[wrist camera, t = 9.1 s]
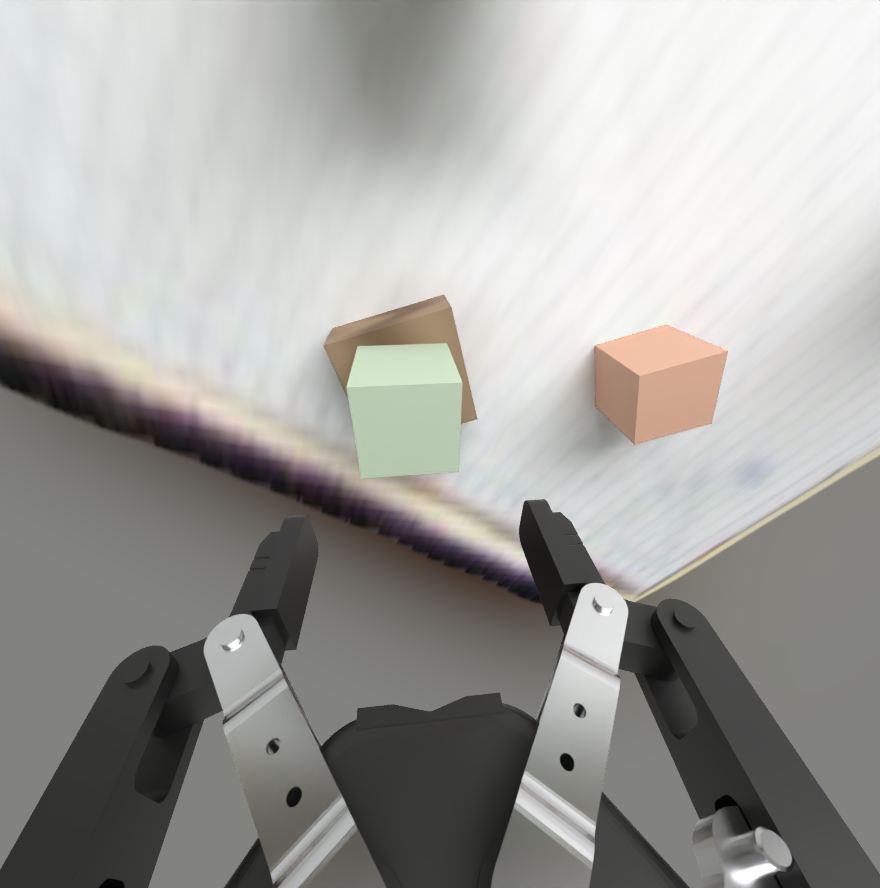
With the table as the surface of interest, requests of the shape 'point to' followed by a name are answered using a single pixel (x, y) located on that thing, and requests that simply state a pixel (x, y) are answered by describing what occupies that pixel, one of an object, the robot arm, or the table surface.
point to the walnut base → (401, 339)
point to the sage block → (405, 409)
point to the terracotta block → (657, 382)
